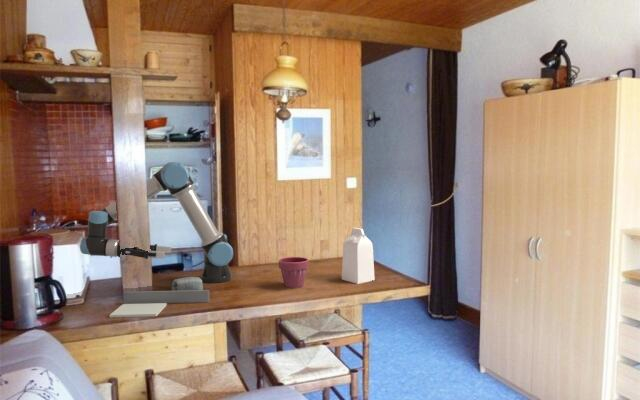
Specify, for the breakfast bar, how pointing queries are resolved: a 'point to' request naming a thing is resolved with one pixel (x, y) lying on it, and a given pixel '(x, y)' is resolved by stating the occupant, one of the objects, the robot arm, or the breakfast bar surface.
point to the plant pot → (293, 271)
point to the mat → (138, 310)
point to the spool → (187, 284)
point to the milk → (357, 258)
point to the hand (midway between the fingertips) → (167, 252)
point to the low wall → (166, 296)
